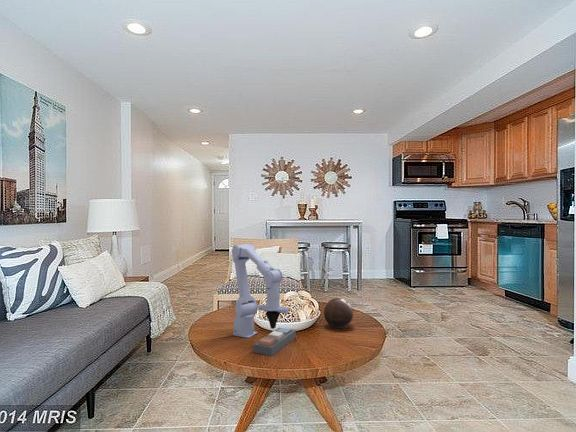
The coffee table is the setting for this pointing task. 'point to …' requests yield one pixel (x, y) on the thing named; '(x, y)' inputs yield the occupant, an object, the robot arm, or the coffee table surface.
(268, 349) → the key console
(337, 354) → the coffee table surface
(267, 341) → the terracotta key
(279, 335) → the white key
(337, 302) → the wooden sphere
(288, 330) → the blue key
